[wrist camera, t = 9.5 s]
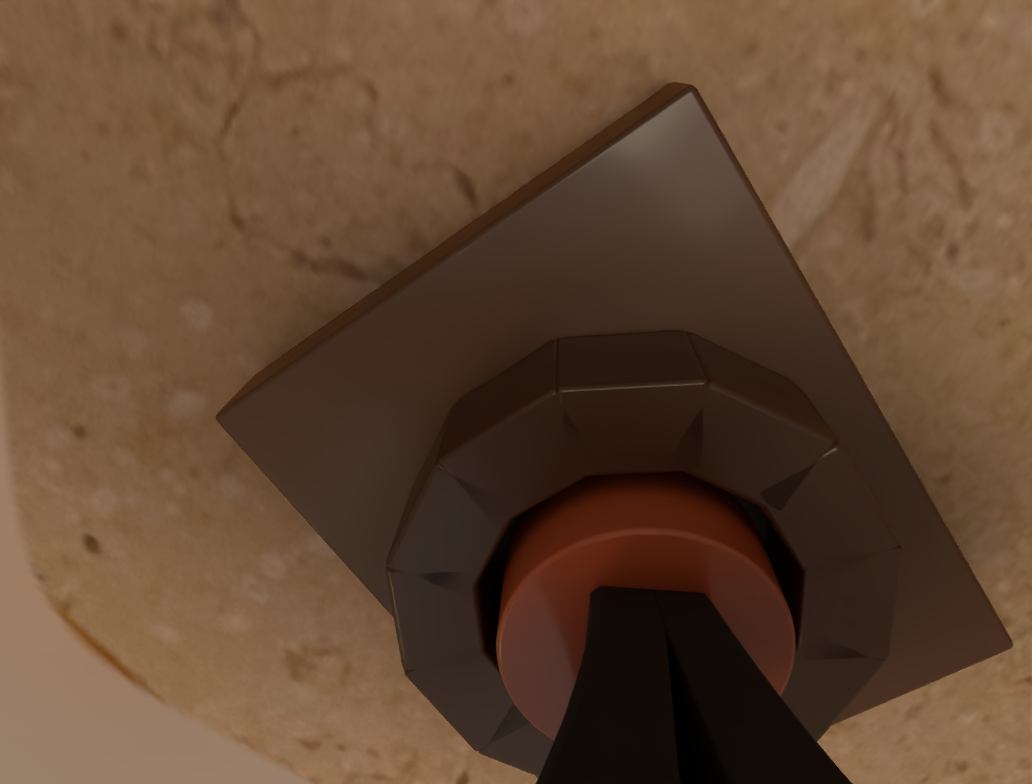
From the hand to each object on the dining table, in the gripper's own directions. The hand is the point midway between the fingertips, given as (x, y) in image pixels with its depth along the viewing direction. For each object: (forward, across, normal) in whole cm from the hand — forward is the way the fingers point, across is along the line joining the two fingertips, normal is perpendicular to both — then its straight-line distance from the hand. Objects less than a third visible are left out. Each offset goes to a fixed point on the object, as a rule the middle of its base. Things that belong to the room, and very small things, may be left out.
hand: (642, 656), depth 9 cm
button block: (+4, 0, 0) cm, 4 cm away
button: (+2, 0, 0) cm, 2 cm away
